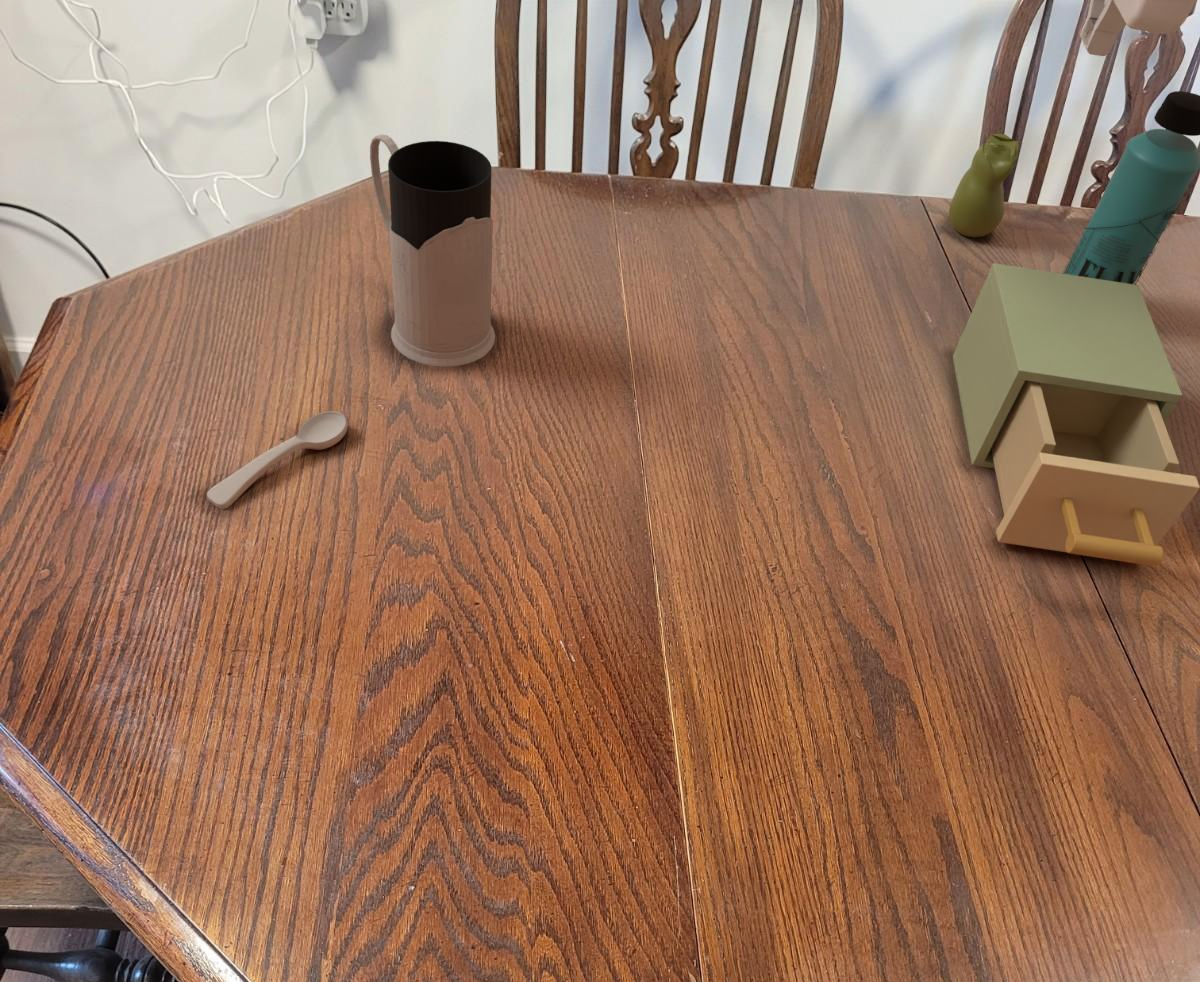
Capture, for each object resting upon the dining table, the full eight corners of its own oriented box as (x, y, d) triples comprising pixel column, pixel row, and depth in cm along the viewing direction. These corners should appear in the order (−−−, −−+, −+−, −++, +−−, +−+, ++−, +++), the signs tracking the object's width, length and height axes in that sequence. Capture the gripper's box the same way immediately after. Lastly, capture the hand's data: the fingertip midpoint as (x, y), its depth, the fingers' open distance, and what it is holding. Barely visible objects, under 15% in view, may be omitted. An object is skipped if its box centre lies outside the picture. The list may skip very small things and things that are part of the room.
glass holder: (427, 382, 84) (421, 208, 72) (337, 294, 90) (319, 121, 79) (516, 348, 88) (524, 177, 76) (424, 265, 94) (418, 97, 83)
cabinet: (1120, 490, 83) (1183, 395, 76) (970, 467, 83) (1019, 370, 76) (1085, 379, 93) (1138, 284, 86) (951, 358, 93) (993, 262, 86)
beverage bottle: (1045, 316, 99) (1150, 103, 84) (1052, 281, 103) (1153, 73, 88) (1114, 336, 98) (1233, 125, 83) (1118, 301, 102) (1233, 94, 87)
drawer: (1159, 615, 74) (1220, 538, 68) (1006, 591, 74) (1054, 513, 68) (1107, 445, 86) (1154, 367, 80) (975, 425, 86) (1013, 346, 80)
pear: (945, 213, 110) (981, 119, 102) (995, 227, 109) (1035, 132, 102) (938, 239, 106) (974, 143, 99) (990, 252, 106) (1030, 157, 98)
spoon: (359, 435, 78) (355, 416, 77) (230, 524, 73) (223, 505, 71) (332, 417, 80) (327, 397, 78) (203, 503, 74) (196, 483, 72)
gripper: (1279, -110, 65) (1164, 113, 75) (1192, -194, 78) (1105, 5, 89) (1178, -126, 65) (1078, 99, 75) (1109, -207, 78) (1032, -6, 88)
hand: (1092, 48), depth 82 cm, fingers closed
